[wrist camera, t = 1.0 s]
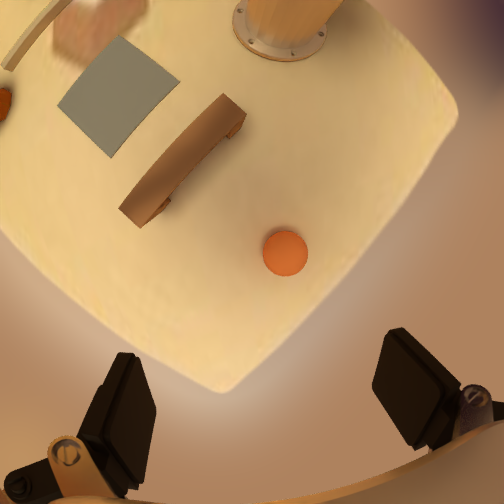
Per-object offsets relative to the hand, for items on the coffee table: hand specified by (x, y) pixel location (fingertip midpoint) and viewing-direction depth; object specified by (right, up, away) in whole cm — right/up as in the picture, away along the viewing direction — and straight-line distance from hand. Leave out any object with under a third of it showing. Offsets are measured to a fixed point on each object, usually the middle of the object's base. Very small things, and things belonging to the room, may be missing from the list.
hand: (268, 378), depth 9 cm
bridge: (-8, +16, +23) cm, 29 cm away
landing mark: (-19, +25, +19) cm, 37 cm away
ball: (+3, +4, +25) cm, 25 cm away
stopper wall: (-35, +40, +12) cm, 55 cm away
